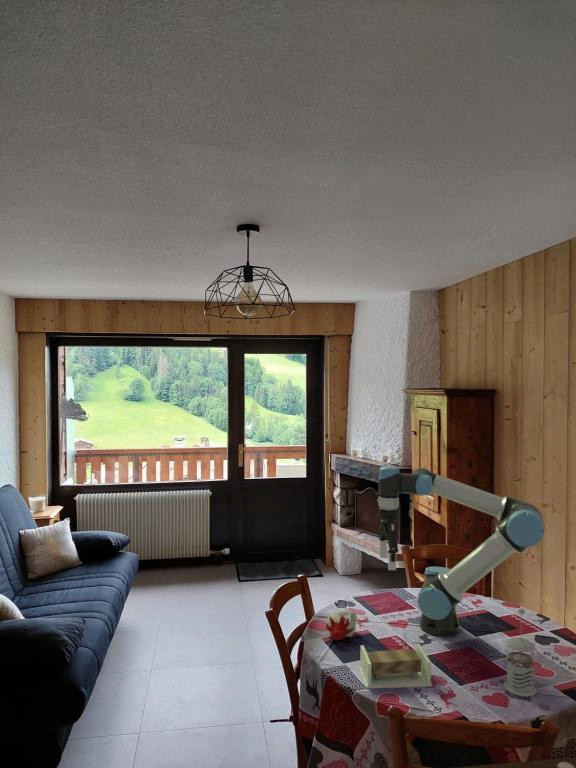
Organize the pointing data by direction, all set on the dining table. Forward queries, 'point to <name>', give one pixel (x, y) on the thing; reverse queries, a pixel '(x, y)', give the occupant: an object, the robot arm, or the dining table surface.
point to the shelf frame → (396, 679)
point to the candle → (341, 624)
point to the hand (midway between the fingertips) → (387, 563)
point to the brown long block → (394, 662)
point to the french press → (516, 680)
